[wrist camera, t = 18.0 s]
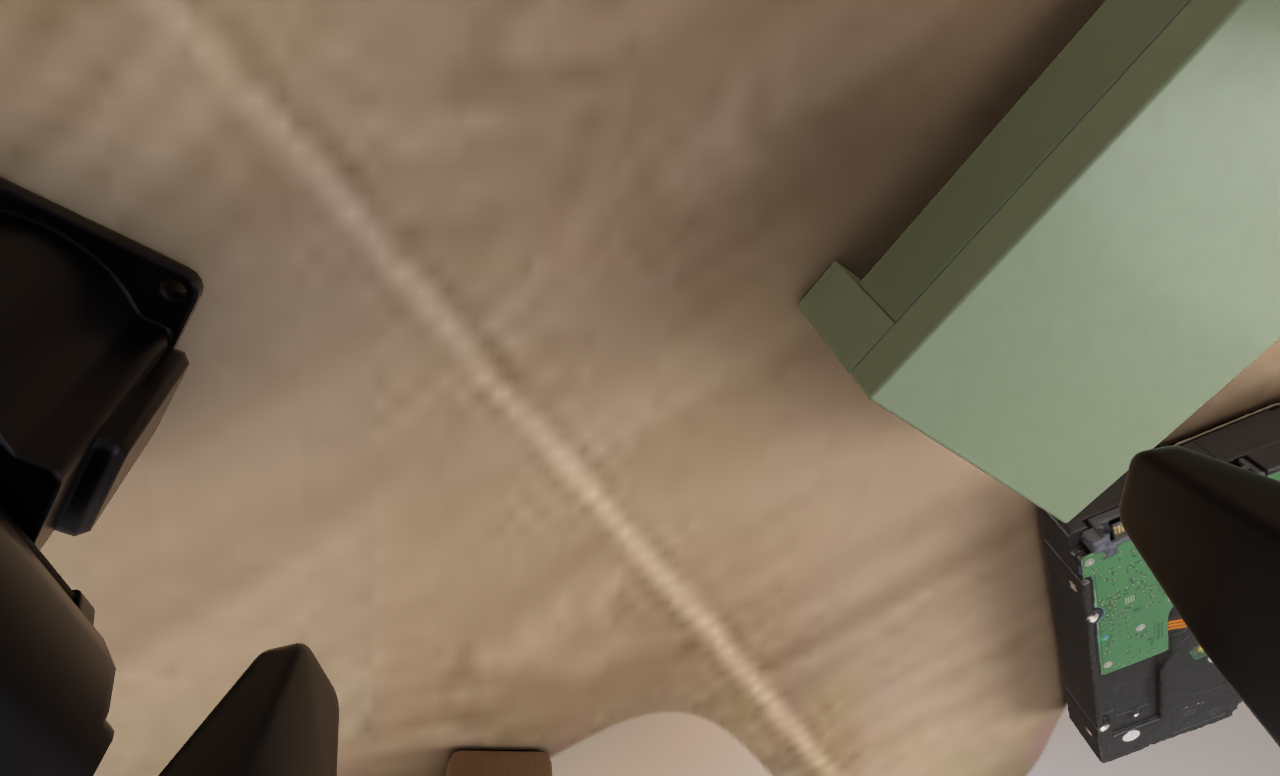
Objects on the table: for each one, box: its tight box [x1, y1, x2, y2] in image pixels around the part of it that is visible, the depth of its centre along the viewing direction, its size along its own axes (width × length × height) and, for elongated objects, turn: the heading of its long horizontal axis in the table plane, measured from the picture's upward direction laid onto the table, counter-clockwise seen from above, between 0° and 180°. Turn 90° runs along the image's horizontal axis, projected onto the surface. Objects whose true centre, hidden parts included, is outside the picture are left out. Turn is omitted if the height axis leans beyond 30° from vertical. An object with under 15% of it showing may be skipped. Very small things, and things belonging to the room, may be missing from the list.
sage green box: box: [798, 0, 1280, 523], centre depth 18 cm, size 8×18×5 cm, turn 144°
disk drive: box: [1040, 403, 1280, 763], centre depth 30 cm, size 10×3×15 cm
